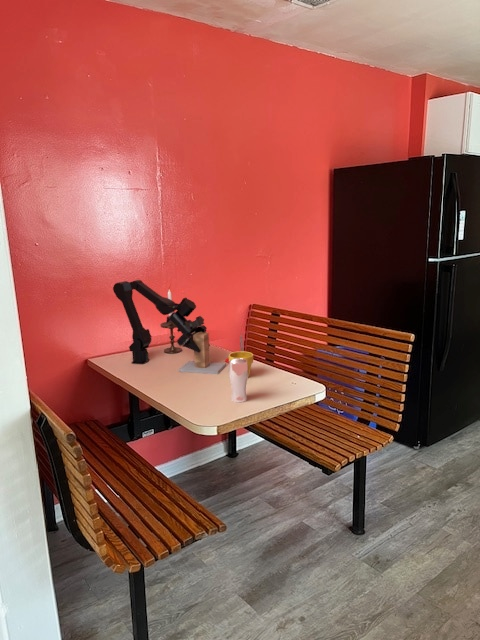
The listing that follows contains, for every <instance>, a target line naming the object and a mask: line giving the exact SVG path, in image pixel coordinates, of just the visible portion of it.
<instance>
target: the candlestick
mask: <svg viewBox="0 0 480 640" xmlns="http://www.w3.org/2000/svg"><path fill="white" fill-rule="evenodd" d="M167 298H168V299H170V300H172V301H173V299H172V292H171V283H169V285H168V292H167ZM171 314H172V313H170V314H168V316H170V315H171ZM159 325H160V326H159V327H160V328H163V329H169V331H170V336H169V337H168V338H169V340H170V341H169V343H170V347H167V348H164V349H163V353H165V354H167V355H174V354H179V353H182V351H183V349H182V348H181V347H180V346H179V347H178V346H177V347H176V346H175V344H174V343H175V342H176V341H175V338H176V336H175V335H174V329H176V328H177V327H176V326H175V325H174V324H173V323H172V321H171V322H169V323H167V322H166V321H165V322H161V323H160V324H159ZM177 329H178V328H177Z"/></svg>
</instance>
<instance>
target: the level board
mask: <svg viewBox="0 0 480 640" xmlns="http://www.w3.org/2000/svg"><path fill="white" fill-rule="evenodd" d="M226 366H227V363H226V362H225V363H224V362H211V361H210V365H209V366H208V367H206V368H197V367H195V360H194V361H193V360H192V361H191V360H189V361H187V362H186V363H185V364H183V365H182V366H181V367H179V369H178V372H180V373H196V374H209V375H219V374H220V372H221V371H223V369H224V368H225V367H226Z"/></svg>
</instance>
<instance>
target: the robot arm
mask: <svg viewBox="0 0 480 640" xmlns="http://www.w3.org/2000/svg"><path fill="white" fill-rule="evenodd" d="M112 290H113V294H115V297H116V299H118V300H120V302H121V303H122V305H123V308H124V310H125V314H126V316H127V318H128V322H129V324H130V327H131V329H132V335H131V339H132V343H131V344H130V345H129V346H128V348H129V351H130V352H131V353H132V361H131V362H130V363H131V364H139V365H140V364H141V365H144V364H146V363H147V362H149V361H150V358H149V352H148V348H150V347H149V346H150V344H151V343H152V337H153V336H152V335H151V333H150V332H151V331H150V329H149V328H147V329H146V328H145V327H144V326H143V323H142V321H141V318H140V316H139V313H138V310H137V308H136V305H135V302H134V299H133V293H134V291H133V290H135V291H136V292H137V293H139V294H140V295H142V297H144V298H146V300H148V301H150V302H151V303H152V304H153V305H154V306H155V309H156V310H157V311H158V312H159V313H160V315H163V316H166V321H165V322H167V323H169V322H171V321H172V323H173V324H174V325H175V326H176V327H177V329H176V331H177V332H178V333H179V332H180V333H181V334H182V335H181V336H180V337H179V338H178V339H177V341H176V342H177V343H176V344H178V346H179V347H185V348H187V349H190V350H192V351H193V352H194V351H196V352H200V351H201V350H200V349H199V347H198V346H197V345H196V343H195V342H194V336H193V335H194V334H196V333H198V332H204V333H207V326H206V325H205V322H204V321H205V319H204V318H203V317H202V316H201V315H199V316H197V317H195V319H194V320H191V319H187V317H189V316H190V315H191V314H192V313H193V312H194V311H195V310H196V308H197V305H196V303H195V302H194V301H192V300H190V299H188V298H187V297H184V298H182V300H181V301H180V302H179V303H176V302H175V301H174V300H173V299H172V300H170V299H168V297H164V296H162V295H160V294H159V293H158V292H156V291H155V290H153V289H152V288H150V286H148V285H147V284H146V283H144V282H143V281H142V280H141V279H135V280H132V281H127V280H124V281H119V282H116V283H114V285H113V287H112ZM170 313H172V314H171V315H170V316H169V314H170ZM167 315H168V316H167ZM210 346H211V344H210V343H209V347H210Z"/></svg>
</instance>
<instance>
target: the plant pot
mask: <svg viewBox="0 0 480 640" xmlns="http://www.w3.org/2000/svg"><path fill="white" fill-rule="evenodd" d="M228 358H229V361H230V360H231V359H235V358H242V359H246V360H247V366H248V378H249V377H250V373H251V368H252V364H254V353H252V352H249V351H245V350H244V351H241V350H240V351H239V350H238V351H232V352H230V353H229V354H228Z"/></svg>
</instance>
